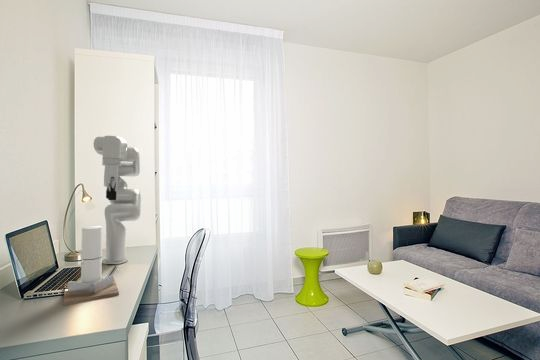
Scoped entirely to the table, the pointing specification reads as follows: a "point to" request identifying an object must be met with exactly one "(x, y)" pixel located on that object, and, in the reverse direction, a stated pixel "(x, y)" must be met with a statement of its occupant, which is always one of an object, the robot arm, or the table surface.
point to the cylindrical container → (91, 254)
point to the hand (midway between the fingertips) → (111, 199)
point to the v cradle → (90, 290)
